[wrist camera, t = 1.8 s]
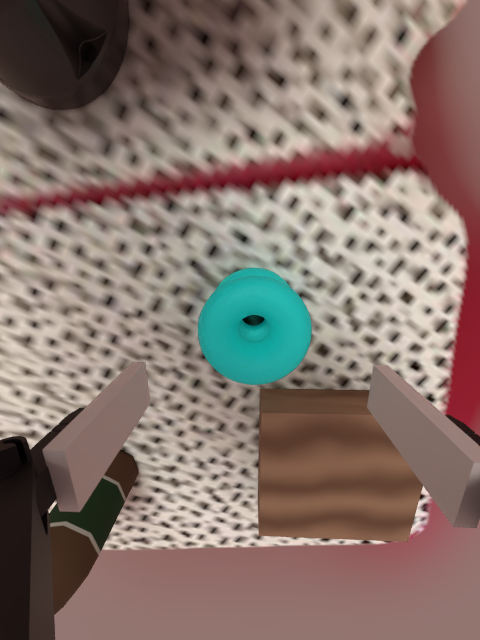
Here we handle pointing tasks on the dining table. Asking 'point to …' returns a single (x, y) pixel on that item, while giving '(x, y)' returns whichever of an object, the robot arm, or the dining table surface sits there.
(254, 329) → the donuts
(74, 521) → the beer bottle
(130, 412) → the robot arm
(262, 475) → the walnut stand
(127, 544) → the dining table surface
